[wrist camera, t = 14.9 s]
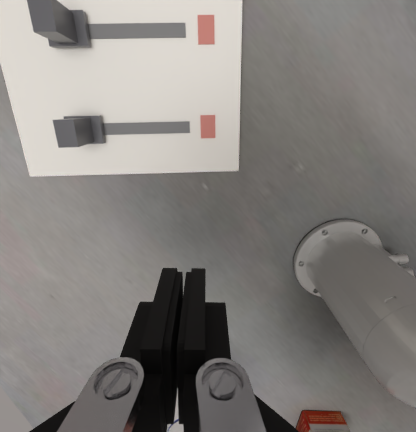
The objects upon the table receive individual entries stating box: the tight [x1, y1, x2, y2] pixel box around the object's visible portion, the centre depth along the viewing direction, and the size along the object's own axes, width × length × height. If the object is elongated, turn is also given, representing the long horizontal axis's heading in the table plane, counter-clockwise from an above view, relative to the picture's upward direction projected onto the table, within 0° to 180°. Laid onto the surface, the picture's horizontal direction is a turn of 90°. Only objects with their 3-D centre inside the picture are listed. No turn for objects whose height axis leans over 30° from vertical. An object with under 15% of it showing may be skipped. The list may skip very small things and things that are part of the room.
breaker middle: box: [27, 0, 91, 48], centre depth 24 cm, size 4×3×5 cm
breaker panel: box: [0, 0, 242, 177], centre depth 28 cm, size 24×28×3 cm
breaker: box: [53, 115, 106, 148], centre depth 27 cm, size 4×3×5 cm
